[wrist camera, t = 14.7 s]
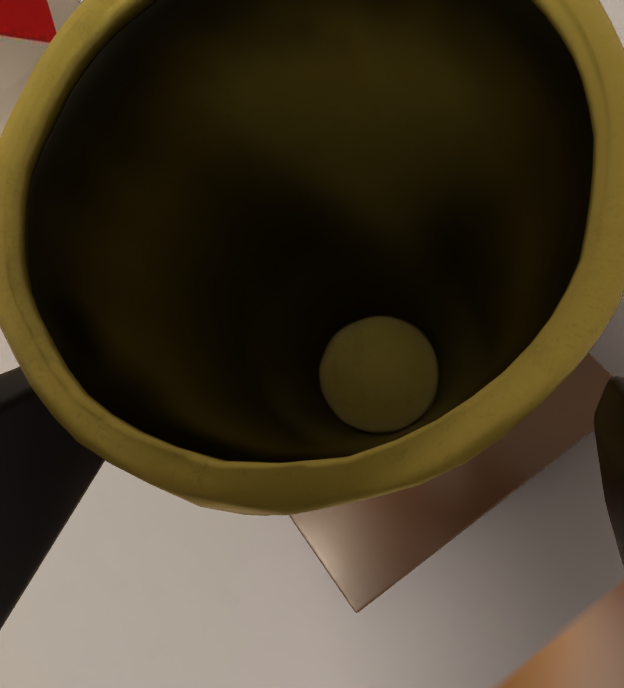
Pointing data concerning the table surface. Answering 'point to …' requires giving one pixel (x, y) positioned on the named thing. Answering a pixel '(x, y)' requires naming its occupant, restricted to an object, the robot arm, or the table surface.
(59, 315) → the vase
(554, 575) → the table surface
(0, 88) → the cup
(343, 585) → the serving board
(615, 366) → the table surface
